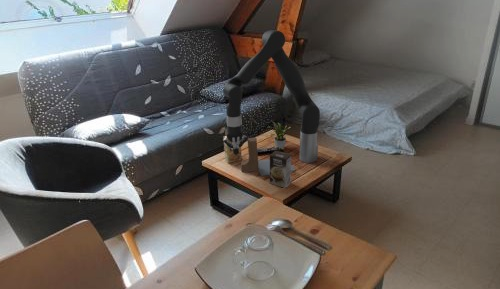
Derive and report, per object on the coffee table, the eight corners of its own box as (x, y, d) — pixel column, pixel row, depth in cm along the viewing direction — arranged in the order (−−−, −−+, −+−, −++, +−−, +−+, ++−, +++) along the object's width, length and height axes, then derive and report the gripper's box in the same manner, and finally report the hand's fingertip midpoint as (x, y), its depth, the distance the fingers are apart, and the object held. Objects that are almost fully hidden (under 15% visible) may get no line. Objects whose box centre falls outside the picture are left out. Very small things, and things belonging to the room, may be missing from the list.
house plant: (261, 147, 217) (261, 122, 210) (278, 140, 224) (278, 116, 217) (277, 155, 207) (277, 129, 200) (294, 148, 214) (295, 123, 207)
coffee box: (269, 183, 179) (268, 155, 172) (275, 177, 184) (275, 149, 177) (285, 188, 175) (286, 159, 168) (291, 182, 180) (291, 153, 173)
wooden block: (241, 172, 190) (238, 142, 182) (242, 168, 194) (239, 138, 186) (258, 171, 190) (256, 141, 182) (258, 167, 194) (256, 137, 186)
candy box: (227, 163, 200) (226, 138, 193) (224, 160, 203) (223, 135, 196) (242, 159, 203) (240, 135, 197) (238, 156, 207) (237, 132, 200)
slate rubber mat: (285, 157, 204) (285, 156, 204) (295, 170, 190) (295, 169, 190) (253, 162, 200) (253, 161, 200) (261, 176, 186) (261, 175, 186)
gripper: (245, 119, 183) (246, 149, 190) (219, 122, 180) (222, 153, 188) (249, 124, 176) (250, 155, 184) (222, 127, 173) (224, 159, 181)
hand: (235, 154), depth 186 cm, fingers closed
